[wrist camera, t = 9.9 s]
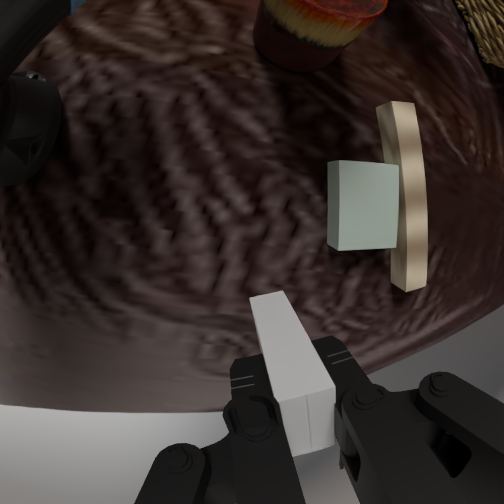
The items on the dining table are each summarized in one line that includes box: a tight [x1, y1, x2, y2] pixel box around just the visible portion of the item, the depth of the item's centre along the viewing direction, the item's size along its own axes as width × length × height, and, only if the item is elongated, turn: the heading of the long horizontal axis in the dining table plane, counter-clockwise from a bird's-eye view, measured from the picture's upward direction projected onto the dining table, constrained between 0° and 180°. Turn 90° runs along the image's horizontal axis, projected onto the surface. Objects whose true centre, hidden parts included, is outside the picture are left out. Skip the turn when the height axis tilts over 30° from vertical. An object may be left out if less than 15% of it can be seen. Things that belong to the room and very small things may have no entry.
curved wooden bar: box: [376, 101, 428, 292], centre depth 32 cm, size 24×4×4 cm, turn 9°
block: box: [327, 160, 399, 251], centre depth 32 cm, size 10×8×4 cm
